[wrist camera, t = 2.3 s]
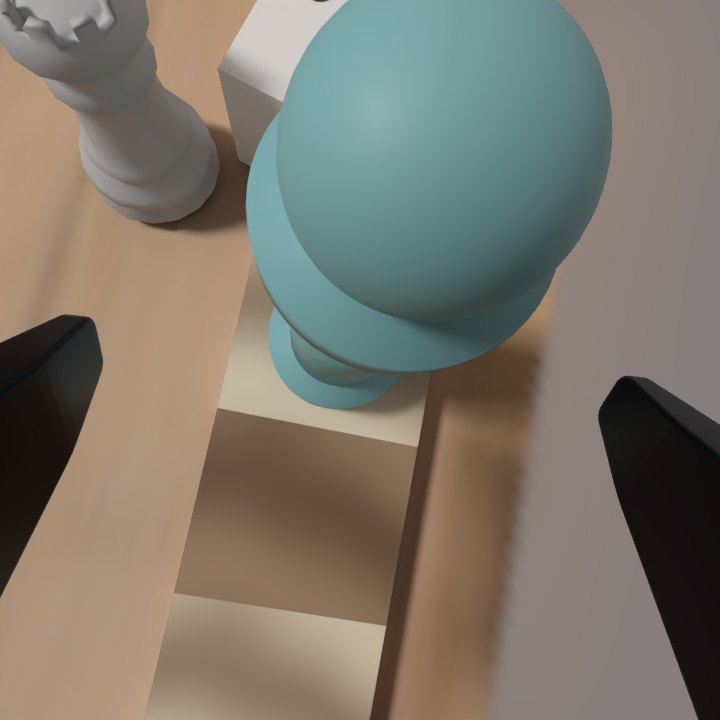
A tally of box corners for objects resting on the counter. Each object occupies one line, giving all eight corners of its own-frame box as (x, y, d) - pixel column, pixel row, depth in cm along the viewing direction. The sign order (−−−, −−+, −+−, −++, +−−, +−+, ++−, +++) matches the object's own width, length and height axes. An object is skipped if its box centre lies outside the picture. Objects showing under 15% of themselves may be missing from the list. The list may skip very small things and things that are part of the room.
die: (358, 221, 19) (380, 151, 14) (237, 160, 18) (215, 66, 13) (411, 114, 20) (450, 10, 15) (296, 54, 19) (296, -73, 14)
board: (311, 1011, 16) (312, 1043, 15) (83, 995, 15) (71, 1028, 14) (440, 290, 19) (446, 284, 18) (258, 247, 18) (256, 239, 17)
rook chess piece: (195, 97, 18) (119, -141, 11) (240, 205, 18) (197, 43, 10) (76, 134, 18) (-102, -92, 10) (121, 246, 17) (-23, 106, 10)
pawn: (352, 435, 17) (599, 520, 3) (243, 357, 17) (-10, 82, 3) (425, 329, 18) (886, 20, 4) (321, 254, 17) (415, -351, 4)
